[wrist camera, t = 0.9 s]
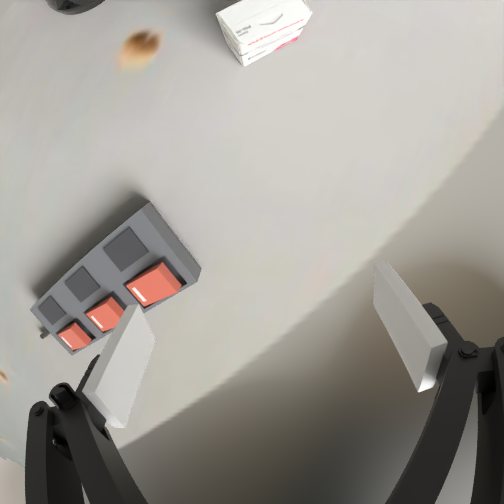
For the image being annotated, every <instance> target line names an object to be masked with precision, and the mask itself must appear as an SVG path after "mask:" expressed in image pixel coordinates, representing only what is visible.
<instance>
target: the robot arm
mask: <svg viewBox="0 0 504 504" xmlns="http://www.w3.org/2000/svg"><path fill="white" fill-rule="evenodd" d="M46 1H47V3H48V4H49V5H50V7H51V8H53V9H54V10H56V11H58V12H61V13H63V14H67V15H73V14H79V13H83V12H85V11H88V10H90V9H92V8H94V7H96V6H97V5H99V4H100V3H102V2H103V1H105V0H46ZM373 305H374V307H375V309H376V310H377V313H378V314H379V316H380V318H381V320H382V322H383V323H384V325H385V327H386V329H387V331H388V333H389V335H390V337H391V339H392V340H393V342H394V344H395V346H396V348H397V350H398V352H399V354H400V356H401V358H402V360H403V362H404V364H405V366H406V368H407V370H408V372H409V374H410V376H411V378H412V380H413V382H414V384H415V387H416V389H417V391H418V392H420V391H423V390H426V389H429V388H432V387H433V386H434V383H435V381H436V379H437V380H438V382H439V384H440V386H439V389H438V392H437V394H436V396H435V400H434V403H433V406H432V408H431V411H430V414H429V416H428V419H427V421H426V424H425V426H424V429H423V431H422V433H421V436H420V438H419V440H418V442H417V445H416V447H415V449H414V451H413V453H412V455H411V457H410V460H409V461H408V463H407V465H406V468H405V469H404V471H403V473H402V475H401V477H400V479H399V481H398V482H397V484H396V486H395V488H394V490H393V491H392V493H391V495H390V496H389V498H388V500H387V501H386V503H385V504H435V501H436V499H437V497H438V495H439V493H440V491H441V489H442V486H443V484H444V482H445V479H446V477H447V475H448V473H449V470H450V468H451V465H452V462H453V460H454V457H455V454H456V451H457V449H458V446H459V442H460V440H461V437H462V434H463V430H464V427H465V424H466V420H467V417H468V413H469V409H470V405H471V401H472V397H473V394H478V440H477V457H476V467H475V477H474V484H473V491H472V497H471V503H470V504H504V337H501V338H500V339H498V340H497V342H496V344H495V346H494V347H488V348H479V347H478V346H477V345H476V344H474V343H472V342H470V341H464V340H463V339H462V337H461V336H460V334H459V333H458V332H457V330H456V329H455V328H454V326H453V325H452V324H451V322H450V321H449V320H448V319H447V317H446V316H444V313H443V312H442V311H441V310H440V308H439V307H437V306H435V305H434V304H432V303H427V304H424V305H421V304H420V303H419V301H418V300H417V298H416V297H415V296H414V294H413V293H412V292H411V291H410V289H409V288H408V287H407V285H406V284H405V283H404V282H403V280H402V279H401V278H400V277H399V275H398V274H397V273H396V272H395V270H394V269H393V268H392V267H391V265H390V264H389V263H388V262H387V261H384V262H379V263H374V302H373ZM155 341H156V339H155V337H154V335H153V333H152V331H151V329H150V327H149V325H148V322H147V320H146V318H145V316H144V314H143V312H142V310H141V308H140V305H139V304H134V305H128V306H127V308H126V309H125V311H124V313H123V315H122V316H121V318H120V320H119V322H118V323H117V325H116V327H115V329H114V331H113V332H112V334H111V336H110V338H109V340H108V342H107V343H106V345H105V347H104V349H103V351H102V353H101V355H97V356H96V357H95V358H94V359H93V360H92V361H91V363H90V365H89V366H88V368H87V369H88V370H86V372H85V376H83V378H82V380H81V382H80V384H79V386H78V388H77V390H76V392H75V391H74V390H73V389H72V388H71V386H70V385H69V384H68V383H60V384H57V385H56V386H55V387H54V388H53V389H52V390H51V392H50V394H49V399H50V400H51V401H52V402H53V403H54V405H55V406H54V407H50V406H49V405H48V404H47V403H46V402H44V401H39V402H37V403H35V404H34V405H33V406H32V408H31V409H30V413H29V420H28V430H27V442H26V459H25V496H26V504H85V503H84V497H83V491H82V485H83V488H84V490H85V493H86V495H87V497H88V500H89V502H90V504H148V503H147V501H146V500H145V498H144V496H143V495H142V493H141V491H140V490H139V488H138V487H137V485H136V483H135V481H134V480H133V478H132V476H131V474H130V473H129V471H128V469H127V467H126V466H125V464H124V462H123V460H122V458H121V456H120V454H119V452H118V450H117V448H116V446H115V444H114V442H113V440H112V438H111V436H110V434H109V431H108V429H107V428H106V427H105V426H104V425H105V422H106V420H107V421H108V423H109V424H110V425H111V426H112V427H118V428H126V424H127V421H128V418H129V415H130V412H131V409H132V406H133V403H134V400H135V397H136V394H137V391H138V388H139V386H140V383H141V380H142V377H143V374H144V371H145V369H146V366H147V363H148V360H149V358H150V355H151V352H152V350H153V347H154V344H155ZM53 441H54V444H53ZM81 483H82V484H81Z"/></svg>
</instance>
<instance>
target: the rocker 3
mask: <svg viewBox="0 0 504 504" xmlns="http://www.w3.org/2000/svg"><path fill="white" fill-rule="evenodd" d="M181 286H182V285H181V284H180V283H179V281H178V280H177V279H176V278H175V277H174V275H173V274H172V273H171V272H170V271H169V269H168V268H167V267H166V266H165V265H164V263H163V262H161V263H160V264H158V265H156V266H154V267H152V268H151V269H149V270H147V271H145V272H144V273H142V274H140V275H138V276H136V277H135V278H133V279H131V280H130V281H129V283H128V284H127V285H126V287H127V288H128V289H129V290H130V291H131V292H132V293H133V295H134V296H135V297H136V298H137V299H138V300H139V301H140V302H141V304H142V305H143V306H147V305H149V304H151V303H154V302H156V301H158V300H161V299H163V298H165V297H168V296H170V295H172V294H175V293H177V292H178V290H179V289H180V287H181Z"/></svg>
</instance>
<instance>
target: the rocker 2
mask: <svg viewBox="0 0 504 504" xmlns="http://www.w3.org/2000/svg"><path fill="white" fill-rule="evenodd" d="M123 313H124V310H123V309H122V308H121V307H120V306H119V305H118V303H117V302H116V301H115V300H114V299H113V298H112V297H110V298H108V299H106V300H105V301H103V302H101V303H99V304H97V305H96V306H94V307H92V308H90V310H89V311H88V312H87V313H86V315H87V316H88V317H89V318H90V319H91V320H92V321H93V322H94V323H95V324H96V325H97V327H98V328H99V329H100V330H101V331H102V332H103V331H106V330H109V329H111V328H114V327H116V325H117V323H118V322H119V320H120V318H121V316H122V315H123Z"/></svg>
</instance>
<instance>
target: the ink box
mask: <svg viewBox="0 0 504 504" xmlns="http://www.w3.org/2000/svg"><path fill="white" fill-rule="evenodd" d="M312 13H313V12H312V11H311V9H310V8H309V6H308V5H307V3H306V2H305V1H304V0H241V1H239V2H237V3H235V4H233V5H231V6H229V7H227V8H225V9H223V10H221V11H219V12H217V13H216V17H217V19H218V22H219V24H220V27H221V30H222V32H223V35H224V38H225V40H226V43H227V44H228V46H229V47H230V49H231V50H232V52H233V53H234V55H235V56H236V58H237V59H238V60H239V62H240V63H241V65H242V66H246V65H248V64H250V63H252V62H254V61H255V60H257V59H259V58H261V57H263V56H265V55H267V54H269V53H270V52H272V51H274V50H276V49H278V48H280V47H283V46H285V45H287V44H289V43H291V42H293V41H295V40H297V38H298V36H299V34H300V33H301V31H302V29H303V28H304V26H305V24H306V22H307V21H308V19H309V18H310V16H311V14H312Z"/></svg>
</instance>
